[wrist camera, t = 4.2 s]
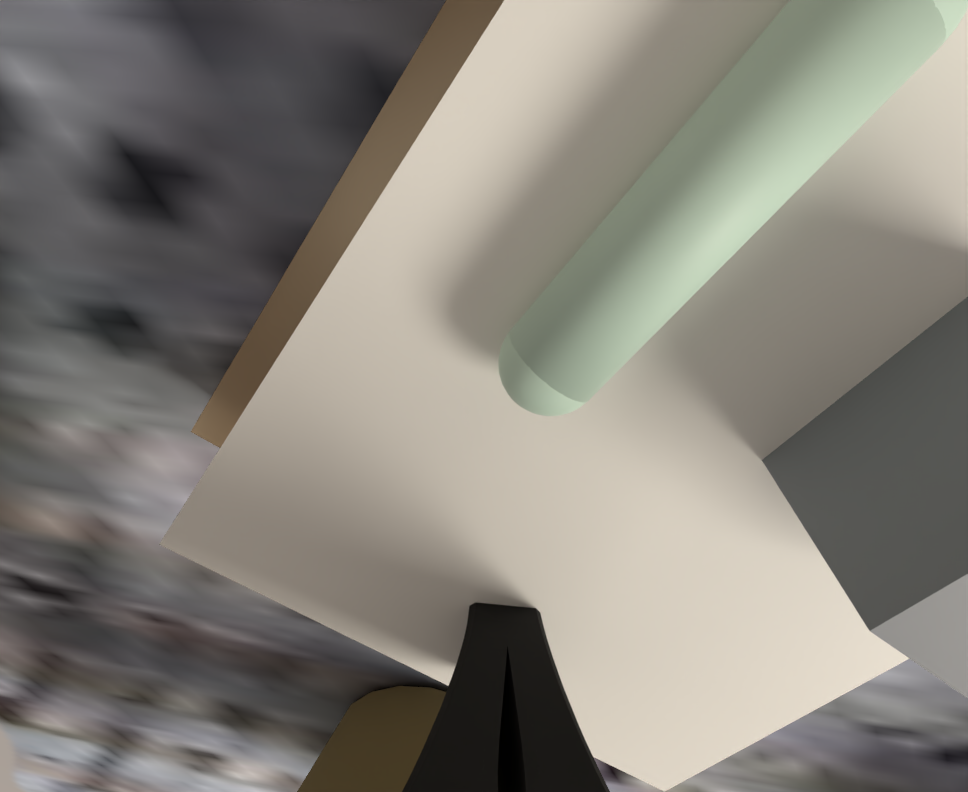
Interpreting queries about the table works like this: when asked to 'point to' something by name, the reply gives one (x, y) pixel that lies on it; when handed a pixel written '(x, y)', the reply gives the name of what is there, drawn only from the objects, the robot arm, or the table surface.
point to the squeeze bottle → (376, 742)
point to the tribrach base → (349, 205)
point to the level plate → (642, 372)
